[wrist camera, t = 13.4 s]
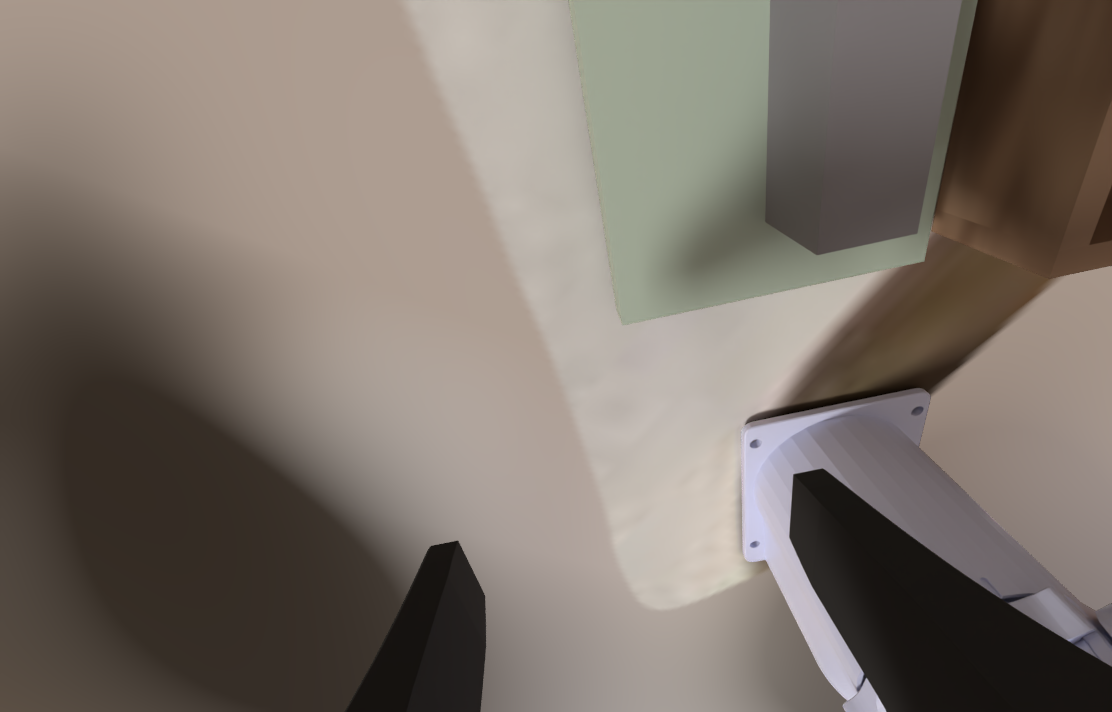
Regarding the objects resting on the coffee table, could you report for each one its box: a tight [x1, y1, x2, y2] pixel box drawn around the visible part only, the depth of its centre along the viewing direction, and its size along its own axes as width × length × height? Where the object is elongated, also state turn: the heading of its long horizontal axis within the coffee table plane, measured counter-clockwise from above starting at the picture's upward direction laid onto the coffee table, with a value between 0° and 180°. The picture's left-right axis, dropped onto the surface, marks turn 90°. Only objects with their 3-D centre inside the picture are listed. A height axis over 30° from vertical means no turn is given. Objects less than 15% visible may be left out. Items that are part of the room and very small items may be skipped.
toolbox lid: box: [568, 0, 978, 325], centre depth 12 cm, size 14×10×5 cm
